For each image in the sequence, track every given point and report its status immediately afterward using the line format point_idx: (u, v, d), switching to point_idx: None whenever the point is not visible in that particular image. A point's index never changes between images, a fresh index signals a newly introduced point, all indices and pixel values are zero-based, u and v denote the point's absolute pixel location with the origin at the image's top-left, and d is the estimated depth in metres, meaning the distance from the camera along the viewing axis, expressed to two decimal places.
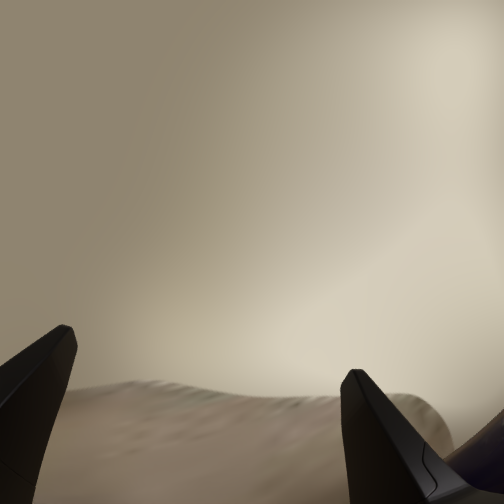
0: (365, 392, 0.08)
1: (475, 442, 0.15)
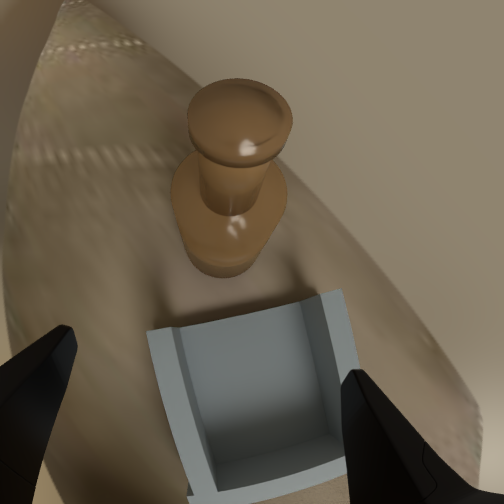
0: (365, 392, 0.08)
1: None
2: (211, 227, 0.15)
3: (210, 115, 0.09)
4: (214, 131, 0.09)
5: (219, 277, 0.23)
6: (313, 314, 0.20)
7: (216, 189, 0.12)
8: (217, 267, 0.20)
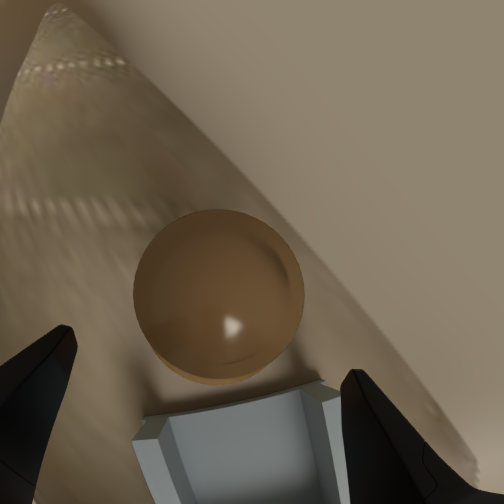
0: (365, 392, 0.08)
1: None
2: None
3: (169, 299, 0.06)
4: (177, 334, 0.06)
5: None
6: (313, 412, 0.16)
7: None
8: None
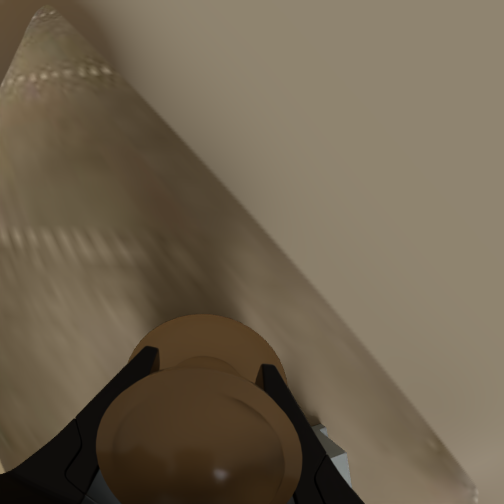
0: (267, 389, 0.07)
1: None
2: None
3: (139, 472, 0.04)
4: (153, 502, 0.04)
5: None
6: None
7: None
8: None
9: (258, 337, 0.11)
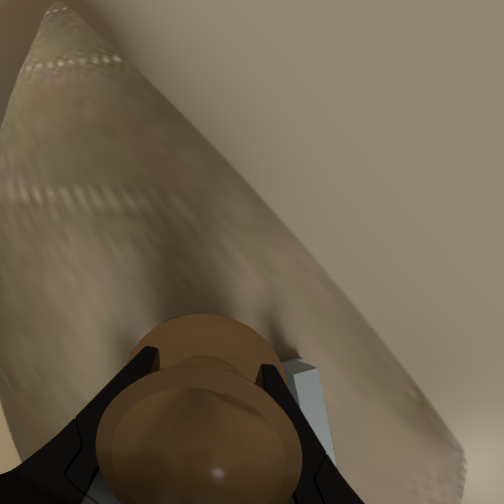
0: (267, 389, 0.07)
1: None
2: None
3: (139, 471, 0.04)
4: (153, 502, 0.04)
5: None
6: (288, 386, 0.18)
7: None
8: None
9: (258, 337, 0.11)
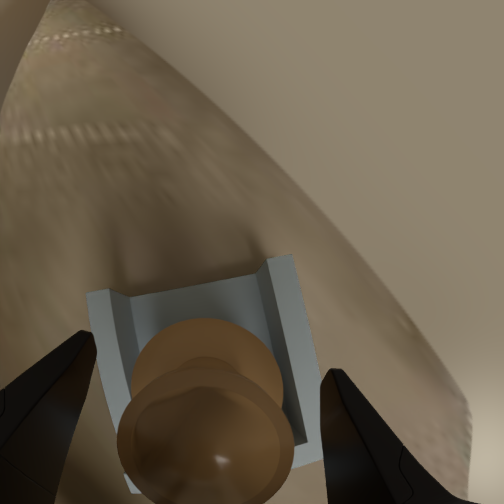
0: (342, 392, 0.08)
1: None
2: None
3: (155, 459, 0.05)
4: (166, 487, 0.05)
5: None
6: (265, 285, 0.19)
7: None
8: None
9: (256, 339, 0.11)
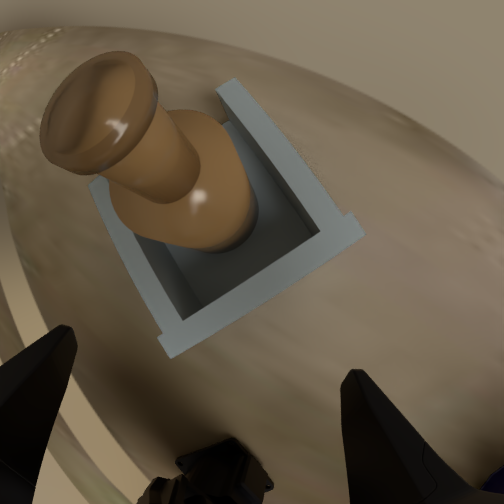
0: (365, 392, 0.08)
1: None
2: (162, 222, 0.12)
3: (58, 127, 0.06)
4: (64, 144, 0.06)
5: (226, 251, 0.21)
6: (231, 115, 0.19)
7: (131, 188, 0.10)
8: (209, 248, 0.17)
9: (194, 112, 0.12)
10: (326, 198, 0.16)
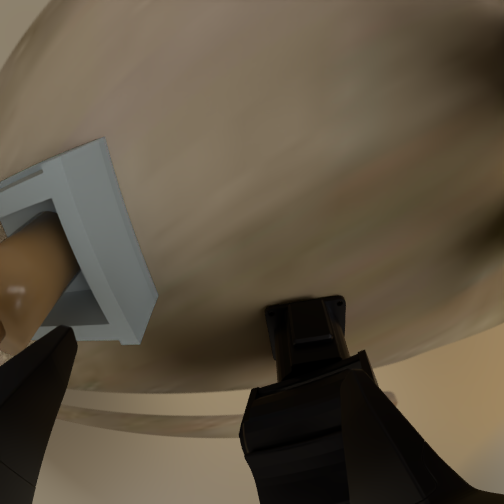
0: (365, 392, 0.08)
1: None
2: (14, 337, 0.13)
3: None
4: None
5: None
6: None
7: None
8: (61, 283, 0.17)
9: None
10: (29, 183, 0.13)
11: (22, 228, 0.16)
